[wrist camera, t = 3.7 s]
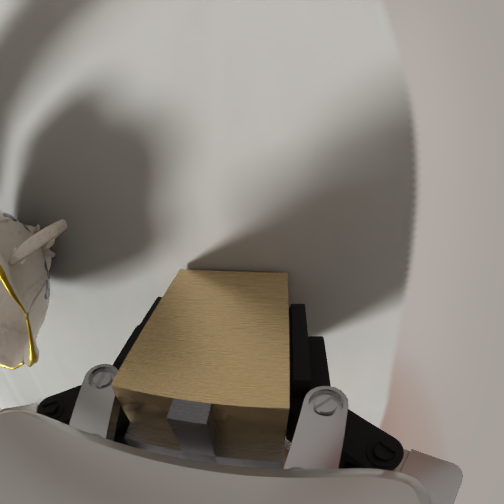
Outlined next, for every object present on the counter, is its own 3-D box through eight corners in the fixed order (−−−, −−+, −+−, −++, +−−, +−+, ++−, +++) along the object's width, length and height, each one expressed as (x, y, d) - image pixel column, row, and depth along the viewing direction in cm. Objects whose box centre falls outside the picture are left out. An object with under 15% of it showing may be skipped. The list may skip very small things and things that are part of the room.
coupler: (282, 353, 13) (277, 489, 7) (193, 348, 14) (149, 471, 7) (287, 273, 12) (289, 429, 5) (180, 269, 12) (101, 402, 6)
